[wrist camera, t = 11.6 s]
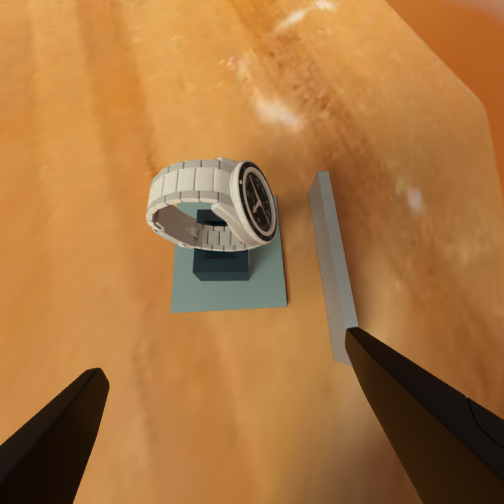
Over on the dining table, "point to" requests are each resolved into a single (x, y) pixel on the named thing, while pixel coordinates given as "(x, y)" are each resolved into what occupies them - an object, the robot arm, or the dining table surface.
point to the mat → (229, 292)
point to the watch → (214, 214)
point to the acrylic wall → (332, 265)
